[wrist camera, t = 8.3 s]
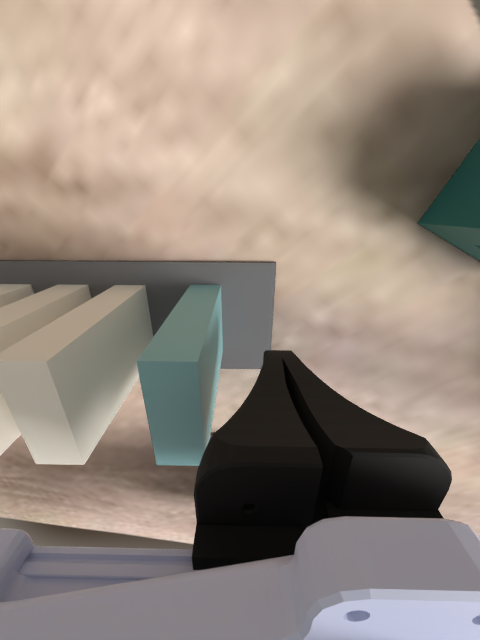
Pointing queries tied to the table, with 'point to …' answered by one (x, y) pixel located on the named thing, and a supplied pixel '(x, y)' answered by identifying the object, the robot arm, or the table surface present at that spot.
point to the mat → (174, 293)
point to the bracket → (459, 207)
